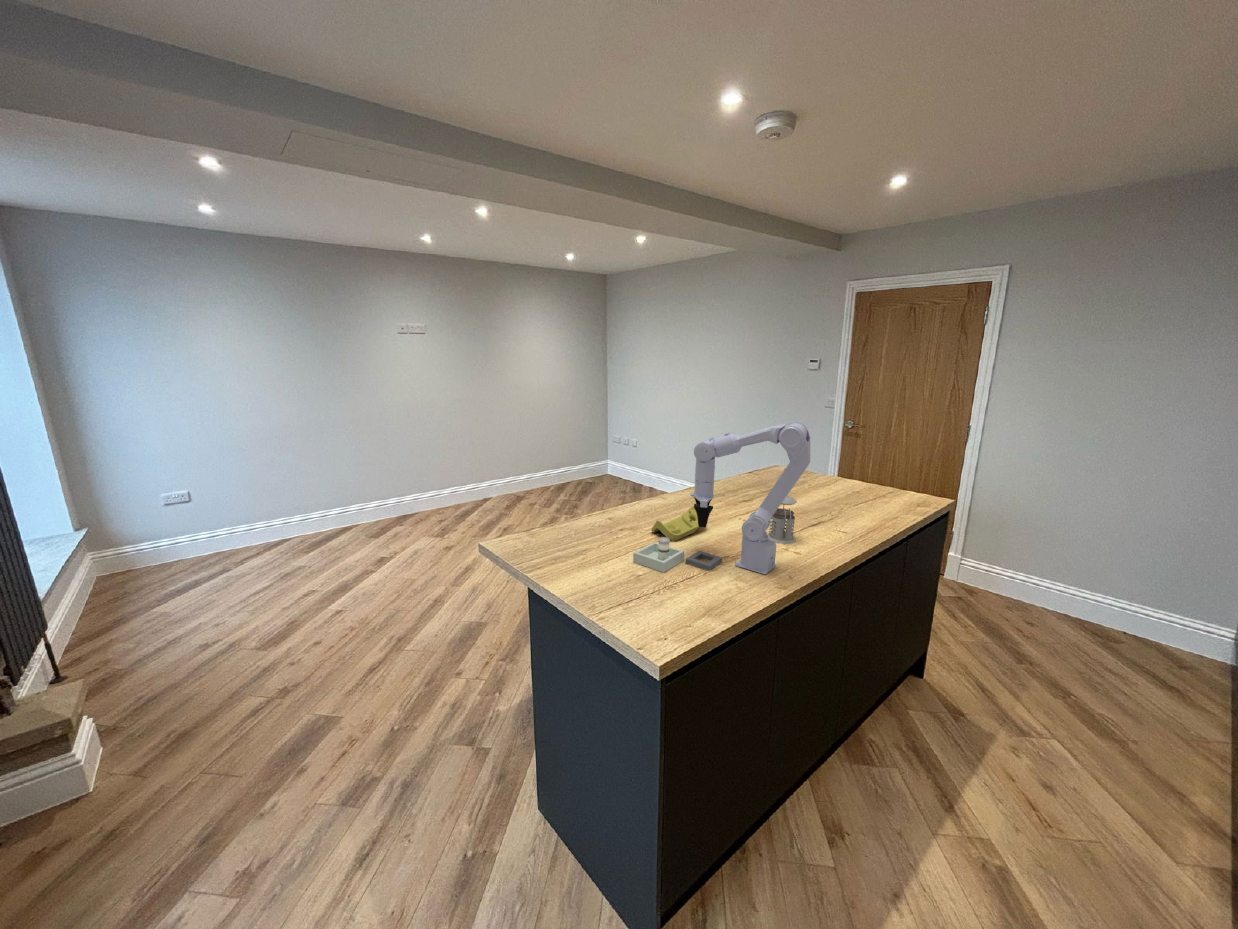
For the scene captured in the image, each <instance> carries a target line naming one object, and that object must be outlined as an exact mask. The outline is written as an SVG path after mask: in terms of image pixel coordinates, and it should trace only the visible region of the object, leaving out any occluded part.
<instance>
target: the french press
mask: <svg viewBox="0 0 1238 929" xmlns="http://www.w3.org/2000/svg"><path fill="white" fill-rule="evenodd" d="M785 469H786V467H785V468H784V469H783V471H784V470H785ZM797 503H798V501H797V500H796V498H794V497H791V496H789V495H787V496H786V498H785V499H784V501H783V502H782V503H781V505H783V507H782V508H781V507H779V508H778V509H777V510H776V512H775V513H774V515H773V516H772V517H771V519H770V525H769V528H768V529H769V531H768V533H767V536H768V539H769V540H771V541H773V542H775V543H776V544H781V545H791V544H794V543H796V538H795V537H794V530H795V529H794V528H795V521H796V517H795V512H794V511H793V510H791V508H790V507H789V508H788V509H787V508H785V506H792V505H796V504H797ZM781 505H780V506H781Z"/></svg>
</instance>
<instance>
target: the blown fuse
mask: <svg viewBox="0 0 1238 929" xmlns="http://www.w3.org/2000/svg"><path fill="white" fill-rule="evenodd" d="M670 542H671V540H670V539H669V538H667V537H666V536H661V537H658V540H657V543H659V545H658V559H659V560H662V561H664V560H665V559H667V558H669V547H670Z"/></svg>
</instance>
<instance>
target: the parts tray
mask: <svg viewBox="0 0 1238 929" xmlns="http://www.w3.org/2000/svg"><path fill="white" fill-rule="evenodd" d="M658 545H659V542H656V541H653V542H651V543H650V544H648V545H646V546H644V547H641V548H640V549H638V550H635V551H634V552H633V553H632V563H635V564H638V565H641V566H643V567H645V568H649V569H653V570H655V571H658V572H660V573H666V572H667V571H669V570H670V569H672V568H674V567H675V566H677V565H679V564H681V563H682V562H684V561H685V551H684V550H682V549H679V548H676V547H672V546H669V558H667V559H665V560H664V561H662V560H659V559H658Z"/></svg>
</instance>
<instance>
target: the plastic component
mask: <svg viewBox="0 0 1238 929" xmlns="http://www.w3.org/2000/svg"><path fill="white" fill-rule="evenodd" d="M700 528H701V527H699V525H698V518H697V513H696V510H695V508H694V505H693V506H691V507H690V508H689V509H688V510H687V511H685V512H684V513H683V514H682V515H680V516H679V517H677V518H674V519H672V520H670V521H669V520H668V521H667V522H664V523H663V522H662V521H661V520H656V521H655V523H654V524H653V526H652V528H651V529H650V531H651V532H652V533H654V534H655V533H657V532H661V533H662V534H663V535H664V537H667V538H669V539H670V541H672V542H676V541H679V540H680V539H683V538H686V537H688V536H689V535H691V534H694V533H695V532H696V531H697V530H698V529H700Z"/></svg>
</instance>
